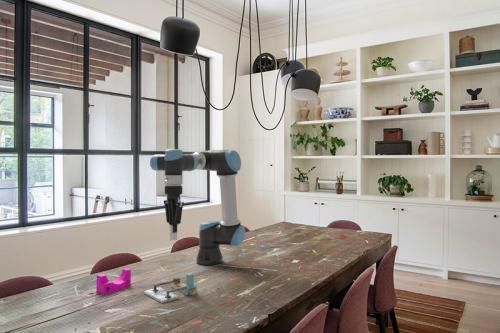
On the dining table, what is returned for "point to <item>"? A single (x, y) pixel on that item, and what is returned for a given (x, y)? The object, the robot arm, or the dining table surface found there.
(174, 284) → the rail
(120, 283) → the toy block
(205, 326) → the dining table surface
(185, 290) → the sliding trammel head
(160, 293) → the bolt plate
